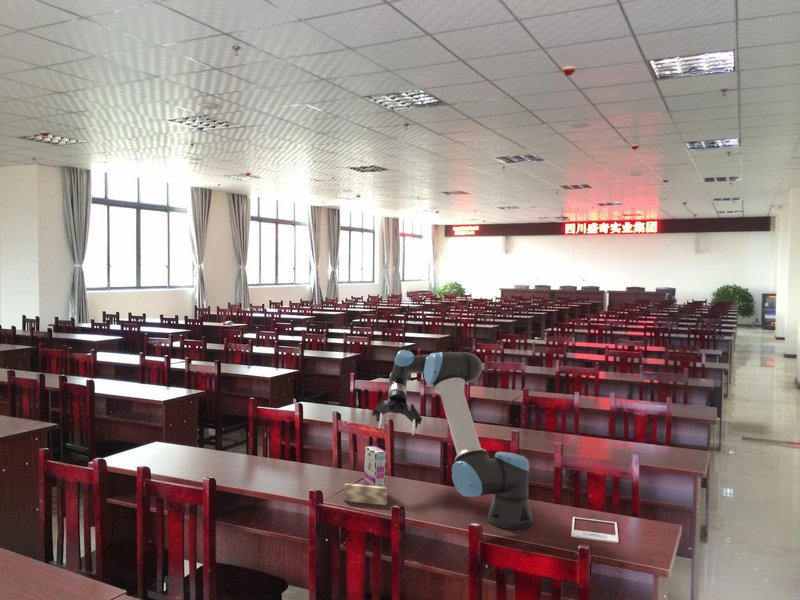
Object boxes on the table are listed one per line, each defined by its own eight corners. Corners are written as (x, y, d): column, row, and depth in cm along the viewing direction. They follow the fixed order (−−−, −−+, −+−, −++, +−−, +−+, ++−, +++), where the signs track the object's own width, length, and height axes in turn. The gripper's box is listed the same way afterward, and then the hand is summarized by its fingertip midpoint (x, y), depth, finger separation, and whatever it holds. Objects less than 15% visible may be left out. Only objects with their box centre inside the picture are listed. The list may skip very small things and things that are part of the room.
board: (386, 503, 233) (387, 487, 233) (385, 505, 231) (386, 488, 231) (345, 499, 236) (345, 483, 236) (343, 500, 234) (344, 484, 234)
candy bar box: (386, 494, 244) (387, 451, 243) (374, 495, 241) (375, 453, 241) (374, 486, 254) (376, 445, 253) (363, 487, 252) (364, 446, 251)
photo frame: (571, 534, 206) (573, 516, 223) (571, 538, 206) (572, 519, 223) (618, 541, 202) (616, 521, 219) (618, 544, 202) (616, 525, 219)
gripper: (423, 408, 271) (425, 442, 252) (366, 398, 268) (363, 430, 250) (428, 395, 267) (429, 427, 249) (370, 383, 265) (367, 416, 246)
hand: (396, 429), depth 249 cm, fingers open, 13 cm apart
